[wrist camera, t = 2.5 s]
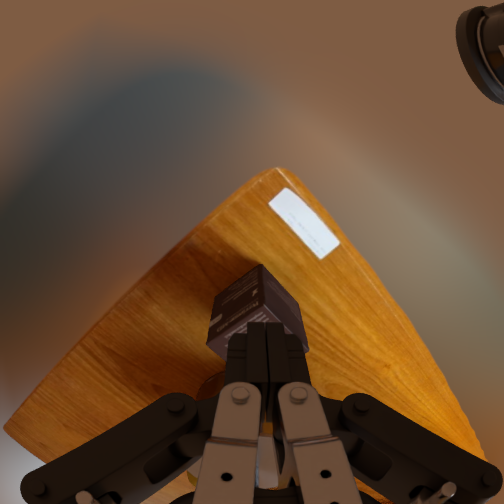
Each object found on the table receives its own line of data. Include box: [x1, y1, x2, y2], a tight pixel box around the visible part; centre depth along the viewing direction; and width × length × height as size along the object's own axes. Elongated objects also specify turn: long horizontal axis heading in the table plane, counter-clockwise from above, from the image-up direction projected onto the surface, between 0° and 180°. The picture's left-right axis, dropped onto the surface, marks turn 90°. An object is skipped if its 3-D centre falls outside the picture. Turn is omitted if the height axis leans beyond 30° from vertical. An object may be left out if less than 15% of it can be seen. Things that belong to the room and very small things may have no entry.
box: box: [206, 264, 309, 361], centre depth 26 cm, size 6×6×7 cm
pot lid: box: [187, 433, 278, 489], centre depth 25 cm, size 14×14×6 cm
